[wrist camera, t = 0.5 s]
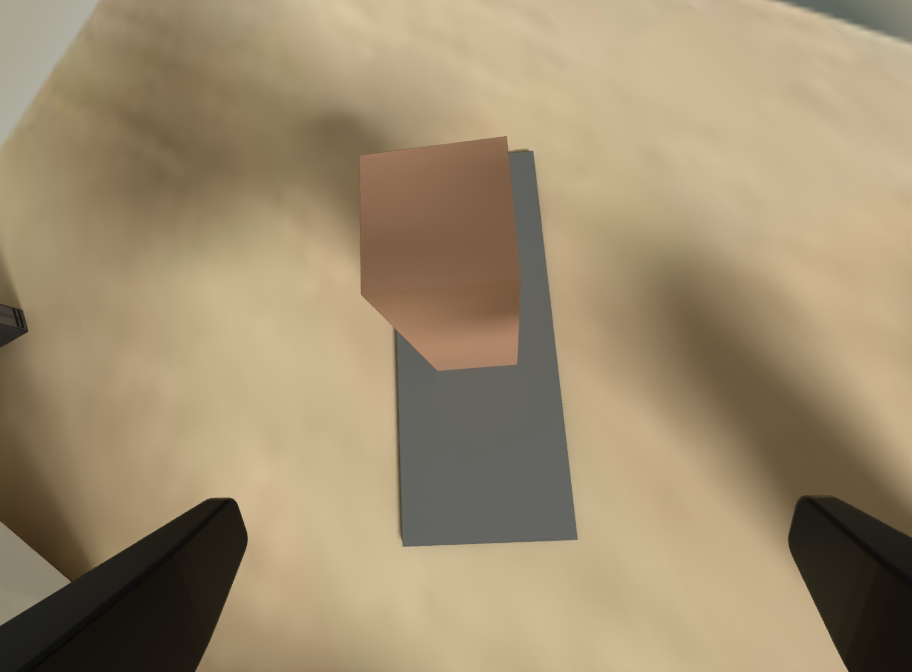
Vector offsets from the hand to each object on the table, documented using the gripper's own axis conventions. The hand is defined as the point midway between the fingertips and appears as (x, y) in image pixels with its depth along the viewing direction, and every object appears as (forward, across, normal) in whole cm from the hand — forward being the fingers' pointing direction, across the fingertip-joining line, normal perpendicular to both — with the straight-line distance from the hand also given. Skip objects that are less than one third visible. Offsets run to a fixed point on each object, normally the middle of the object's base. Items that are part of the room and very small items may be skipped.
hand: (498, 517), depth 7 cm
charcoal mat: (+16, +2, +3) cm, 17 cm away
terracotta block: (+16, +1, +3) cm, 16 cm away
